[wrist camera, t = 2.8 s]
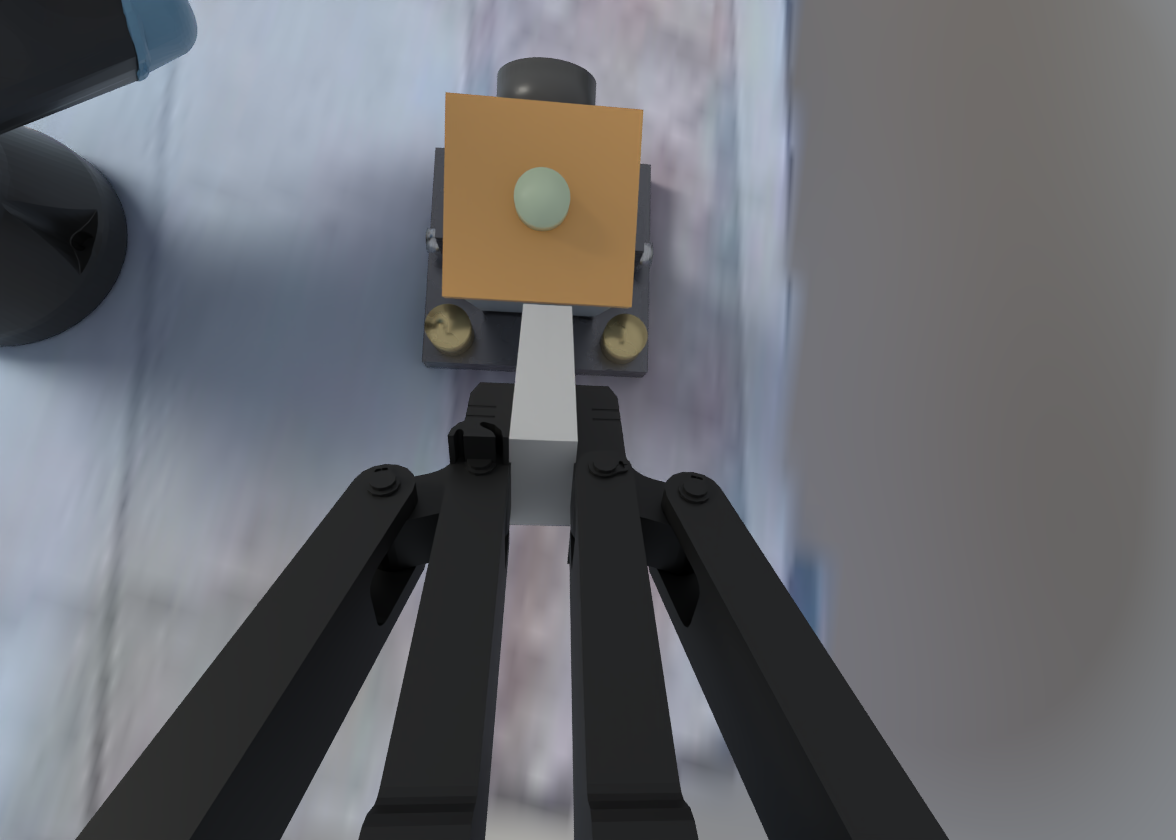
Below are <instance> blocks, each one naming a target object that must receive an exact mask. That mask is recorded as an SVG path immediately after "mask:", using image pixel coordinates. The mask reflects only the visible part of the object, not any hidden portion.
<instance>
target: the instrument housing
mask: <svg viewBox="0 0 1176 840" xmlns="http://www.w3.org/2000/svg"><path fill="white" fill-rule="evenodd" d="M595 99H596V81H595V79H594V77H593V76H592V75H591V74H590V73H589V72H588V71H587V70H585V69H584V68H582V67H580V66H578V65H576V64H573V63H570V62H567V61H563V60H559V59H553V58H542V57H533V58H523V59H518V60H515V61H512V62H509V63H507V64H505V65H504V66H502V67H501V68H500V70H499V71H498V74H497V97H492V96H481V95H469V94H458V93H447V92H446V100H445V155H444V211H443V266H442V296H443V297H444V298H454V299H464V300H466V301H468V302H469V303H471V304H472V305H474V306H476V307H477V308H479V309H480V310H482V311H500V312H518V313H522V312H523V304H537V305H555V306H572V315H573V316H591V317H595V316H597V315H599V314H601V313H602V312H604V311H606V310H608V309H610V308H612V307H613V308H631V307H632V295H633V278H634V260H635V243H636V226H637V209H638V191H639V174H640V157H641V139H642V122H643V110H640V109H628V108H617V107H606V106H595Z"/></svg>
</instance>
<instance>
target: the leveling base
mask: <svg viewBox="0 0 1176 840" xmlns="http://www.w3.org/2000/svg"><path fill="white" fill-rule="evenodd" d="M444 155H445V148H436V150H435V165H434V181H433V197H432V212H431V228H427V231H426V248H427V252H428V253H429V260H428V275H427V291H426V307H425V322H424V338H423V354H422V362H423V363H424V364H425V365H426V367H429V368H450V369H472V370H494V371H516V368H517V359H518V349H519V340H520V331H521V321H522V313H518V312H500V311H482V310H480V309H479V308H477V307H476V306H474V305H472V304H471V303H469V302H468V301H466V300H464V299H454V298H444V297H443V296H442V266H443V211H444ZM650 178H651V165H648V164H640V174H639V191H638V209H637V226H636V243H635V260H634V278H633V295H632V307H631V308H613V307H612V308H610V309H608V310H606V311H604V312H602V313H601V314H599V315H597V316H595V317H591V316H573V315H572V320H573V344H574V367H575V374H581V375H603V376H625V377H643V376H644V375H645V374H646V373H647V371H648V307H649V267H650V266H651V262H652V256H653V245H652V243H649V242H650Z"/></svg>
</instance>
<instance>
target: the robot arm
mask: <svg viewBox="0 0 1176 840" xmlns="http://www.w3.org/2000/svg"><path fill="white" fill-rule="evenodd" d="M196 37H197V23H196V19H195V15H194V13H193V11H192V8H191V6H190V4H189V2H188V0H0V346H14V345H22V344H27V343H32V342H36V341H40V340H43V339H46V338H49V337H51V336H54V335H56V334H59V333H61V332H63V331H65V330H67V329H68V328H70V327H72V326H73V325H75V324H76V323H78V322H79V321H81V320H82V319H83V318H85V317H86V316H87V315H88V314H90V313H91V312H92V311H93V310H94V309H95V308H96V307H97V306H98V305H99V304H100V303H101V301H102V300H103V299H104V298H105V297H106V295H107V294H108V293H109V291H110V290H111V288H112V286H113V285H114V283H115V281H116V279H117V277H118V275H119V273H120V270H121V267H122V264H123V261H124V257H125V252H126V246H127V227H126V220H125V215H124V212H123V208H122V206H121V203H120V201H119V198H118V196H117V194H116V193H115V191H114V189H113V188H112V186H111V185H110V183H109V182H108V181H107V179H106V178H105V177H104V176H103V175H102V174H101V173H100V172H99V171H98V170H97V169H96V168H95V167H94V166H93V165H91V164H90V163H89V162H87V161H86V160H85V159H83V158H82V157H80V156H79V155H78V154H76V153H75V152H74V151H72V150H71V149H69V148H68V147H67V146H65V145H64V144H62V143H61V142H59V141H57V140H55V139H53V138H52V137H50V136H48V135H46V134H43V133H41V132H39V131H36V130H34V129H31V128H28V127H25V126H24V125H26V124H29V123H31V122H34V121H36V120H39V119H41V118H44V117H46V116H49V115H51V114H54V113H56V112H59V111H62V110H64V109H67V108H69V107H72V106H74V105H77V104H79V103H82V102H84V101H87V100H89V99H92V98H94V97H97V96H99V95H102V94H105V93H107V92H110V91H112V90H115V89H117V88H120V87H122V86H125V85H127V84H130V83H132V82H135V81H142V80H144V79H146V78H147V77H148V75H149V72H151V71H153V70H155V69H157V68H159V67H161V66H163V65H165V64H167V63H169V62H171V61H172V60H174V59H176V58H178V57H180V56H182V55H184V54H186V53H187V52H188V51H189V50H190V49H191V48H192V46H193V45H194V43H195V41H196ZM448 444H449V455H450V464H449V465H448V466H446V467H445V468H443V469H441V470H439V471H436V472H433V473H429V474H425V475H420V476H415V477H414V475H413V474H412V473H411V472H410V471H409V470H408V469H407V468H405V467H402V466H399V465H391V464H384V465H379V466H374V467H372V468H370V469H367V470H365V471H363V472H362V473H361V474H360V475H359V476H357V477H356V478H355V479H354V481H353V482H352V483H351V484H350V486H349V487H348V488H347V490H346V491H345V492H344V493H343V495H342V496H341V497H340V499H339V500H338V501H337V502H336V504H335V505H334V506H333V508H332V509H331V510H330V512H329V513H328V514H327V515H326V517H325V518H324V519H323V521H322V522H321V523H320V524H319V526H318V527H317V528H316V530H315V531H314V532H313V533H312V535H311V536H310V537H309V539H308V540H307V541H306V543H305V544H304V545H303V546H302V548H301V549H300V550H299V552H298V553H297V554H296V555H295V557H294V558H293V559H292V561H291V562H290V563H289V564H288V566H287V567H286V568H285V570H284V571H283V572H282V573H281V575H280V576H279V577H278V579H277V580H276V581H275V583H274V584H273V585H272V586H271V588H270V589H269V590H268V592H267V593H266V594H265V595H264V597H263V598H262V599H261V601H260V602H259V603H258V604H257V606H256V607H255V608H254V610H253V611H252V612H251V614H250V615H249V616H248V617H247V619H246V620H245V621H244V623H243V624H242V625H241V626H240V628H239V629H238V630H237V632H236V633H235V634H234V635H233V637H232V638H231V639H230V641H229V642H228V643H227V645H226V646H225V647H224V648H223V650H222V651H221V652H220V654H219V655H218V656H217V657H216V659H215V660H214V661H213V663H212V664H211V665H210V666H209V668H208V669H207V670H206V672H205V673H204V674H203V675H202V677H201V678H200V679H199V681H198V682H197V683H196V685H195V686H194V687H193V688H192V690H191V691H190V692H189V694H188V695H187V696H186V697H185V699H184V700H183V701H182V703H181V704H180V705H179V706H178V708H177V709H176V710H175V712H174V713H173V714H172V716H171V717H170V718H169V719H168V721H167V722H166V723H165V725H164V726H163V727H162V728H161V730H160V731H159V732H158V734H157V735H156V736H155V737H154V739H153V740H152V741H151V743H150V744H149V745H148V747H147V748H146V749H145V750H144V752H143V753H142V754H141V756H140V757H139V758H138V759H137V761H136V762H135V763H134V765H133V766H132V767H131V768H130V770H129V771H128V772H127V774H126V775H125V776H124V777H123V779H122V780H121V781H120V783H119V784H118V785H117V787H116V788H115V789H114V790H113V792H112V793H111V794H110V796H109V797H108V798H107V799H106V801H105V802H104V803H103V805H102V806H101V807H100V808H99V810H98V811H97V812H96V814H95V815H94V816H93V818H92V819H91V820H90V821H89V823H88V824H87V825H86V827H85V828H84V829H83V830H82V832H81V833H80V834H79V836H78V837H77V838H76V839H75V840H280V839H281V837H282V835H283V833H284V832H285V830H286V828H287V826H288V824H289V822H290V820H291V818H292V816H293V815H294V813H295V811H296V809H297V807H298V805H299V803H300V801H301V800H302V798H303V796H304V794H305V792H306V790H307V788H308V786H309V785H310V783H311V781H312V779H313V777H314V775H315V773H316V771H317V769H318V768H319V766H320V764H321V762H322V760H323V758H324V756H325V754H326V753H327V751H328V749H329V747H330V745H331V743H332V741H333V739H334V737H335V736H336V734H337V732H338V730H339V728H340V726H341V724H342V722H343V721H344V719H345V717H346V715H347V713H348V711H349V709H350V707H351V706H352V704H353V702H354V700H355V698H356V696H357V694H358V692H359V690H360V689H361V687H362V685H363V683H364V681H365V679H366V677H367V675H368V674H369V672H370V670H371V668H372V666H373V664H374V662H375V660H376V659H377V657H378V655H379V653H380V651H381V649H382V647H383V645H384V643H385V642H386V640H387V638H388V636H389V634H390V632H391V630H392V628H393V627H394V625H395V623H396V621H397V619H398V617H399V615H400V613H401V612H402V610H403V608H404V606H405V604H406V602H407V600H408V598H409V596H410V595H411V593H412V591H413V589H414V587H415V585H416V583H417V581H418V580H419V578H420V576H421V574H422V572H423V570H424V567H425V564H426V563H429V564H428V568H427V573H426V578H425V582H424V587H423V591H422V596H421V601H420V605H419V610H418V614H417V619H416V624H415V628H414V633H413V637H412V642H411V647H410V651H409V656H408V661H407V665H406V670H405V674H404V679H403V684H402V688H401V693H400V697H399V702H398V707H397V711H396V716H395V720H394V725H393V730H392V734H391V739H390V743H389V748H388V753H387V757H386V762H385V766H384V771H383V776H382V780H381V785H380V789H379V793H378V797H377V800H376V802H375V805H374V806H373V807H372V809H371V810H370V811H369V812H368V813H367V815H366V818H365V820H364V823H363V825H362V828H361V832H360V836H359V839H358V840H485V832H486V820H487V808H488V796H489V784H490V771H491V759H492V747H493V735H494V723H495V711H496V698H497V686H498V674H499V662H500V650H501V638H502V625H503V613H504V601H505V589H506V577H507V565H508V552H509V525H543V526H570V524H571V529H570V541H569V552H568V563H567V564H570V617H571V677H572V736H573V796H574V840H698V835H697V830H696V825H695V820H694V817H693V814H692V812H691V809H690V807H689V806H688V804H687V803H686V802H685V801H684V799H683V796H682V793H681V788H680V783H679V776H678V769H677V763H676V756H675V749H674V742H673V736H672V729H671V722H670V716H669V709H668V702H667V695H666V689H665V682H664V675H663V669H662V662H661V655H660V648H659V642H658V635H657V628H656V622H655V615H654V608H653V601H652V595H651V588H650V581H649V575H648V568H647V566H649V571H650V574H651V576H652V578H653V580H654V583H655V585H656V587H657V589H658V592H659V594H660V596H661V598H662V601H663V603H664V605H665V607H666V610H667V612H668V614H669V616H670V619H671V621H672V623H673V625H674V628H675V630H676V632H677V634H678V637H679V639H680V641H681V643H682V646H683V648H684V650H685V652H686V655H687V657H688V659H689V661H690V664H691V666H692V668H693V670H694V673H695V675H696V677H697V679H698V682H699V684H700V686H701V688H702V691H703V693H704V695H705V697H706V700H707V702H708V704H709V706H710V709H711V711H712V713H713V715H714V718H715V720H716V722H717V724H718V726H719V729H720V731H721V733H722V735H723V738H724V740H725V742H726V744H727V747H728V749H729V751H730V753H731V756H732V758H733V760H734V762H735V765H736V767H737V769H738V771H739V774H740V776H741V778H742V780H743V783H744V785H745V787H746V789H747V792H748V794H749V796H750V798H751V801H752V803H753V805H754V807H755V810H756V812H757V814H758V816H759V819H760V821H761V823H762V825H763V827H764V830H765V832H766V834H767V837H768V839H769V840H949V839H948V837H947V836H946V834H945V833H944V831H943V830H942V828H941V826H940V825H939V823H938V822H937V820H936V819H935V817H934V816H933V814H932V813H931V811H930V810H929V808H928V807H927V805H926V804H925V802H924V800H923V799H922V797H921V796H920V794H919V793H918V791H917V790H916V788H915V786H914V785H913V783H912V782H911V780H910V779H909V777H908V776H907V774H906V773H905V771H904V770H903V768H902V767H901V765H900V763H899V762H898V760H897V759H896V757H895V756H894V754H893V753H892V751H891V750H890V748H889V747H888V745H887V743H886V742H885V740H884V739H883V737H882V736H881V734H880V733H879V731H878V730H877V728H876V726H875V725H874V723H873V722H872V720H871V719H870V717H869V716H868V714H867V713H866V711H865V710H864V708H863V706H862V705H861V703H860V702H859V700H858V699H857V697H856V696H855V694H854V693H853V691H852V690H851V688H850V687H849V685H848V683H847V682H846V680H845V679H844V677H843V676H842V674H841V673H840V671H839V670H838V668H837V666H836V665H835V663H834V662H833V660H832V659H831V657H830V656H829V654H828V653H827V651H826V650H825V648H824V646H823V645H822V643H821V642H820V640H819V639H818V637H817V636H816V634H815V633H814V631H813V630H812V628H811V626H810V625H809V623H808V622H807V620H806V619H805V617H804V616H803V614H802V613H801V611H800V610H799V608H798V606H797V605H796V603H795V602H794V600H793V599H792V597H791V596H790V594H789V593H788V591H787V590H786V588H785V586H784V585H783V583H782V582H781V580H780V579H779V577H778V576H777V574H776V573H775V571H774V570H773V568H772V566H771V565H770V563H769V562H768V560H767V559H766V557H765V556H764V554H763V553H762V551H761V550H760V548H759V546H758V545H757V543H756V542H755V540H754V539H753V537H752V536H751V534H750V533H749V531H748V529H747V528H746V526H745V525H744V523H743V522H742V520H741V519H740V517H739V516H738V514H737V513H736V511H735V509H734V508H733V506H732V505H731V503H730V502H729V500H728V499H727V497H726V496H725V494H724V493H723V491H722V489H721V488H720V487H719V486H718V485H717V484H716V483H715V482H714V481H713V480H712V479H710V478H708V477H706V476H705V475H702V474H698V473H694V472H681V473H678V474H675V475H673V476H671V477H670V478H669V479H668V480H667V482H666V483H665V482H662V481H658V480H654V479H651V478H648V477H646V476H643V475H642V474H640V473H638V472H637V471H635V470H634V469H633V468H632V466H631V464H630V462H629V461H628V460H627V458H626V454H625V447H624V440H623V433H622V426H621V422H620V412H619V405H618V398H617V396H616V395H615V394H614V393H613V391H612V390H611V389H610V388H609V387H608V386H585V385H575V367H574V344H573V320H572V306H555V305H537V304H523V312H522V321H521V331H520V340H519V349H518V359H517V368H516V378H515V384H509V383H485V382H480V383H479V384H478V386H477V387H476V388H475V389H474V390H473V391H472V392H471V393H470V398H469V403H468V408H467V412H466V417H465V421H463V422H460V423H458V424H457V425H456V426H454V427H453V428H452V429H451V431H450V432H449V434H448Z"/></svg>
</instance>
